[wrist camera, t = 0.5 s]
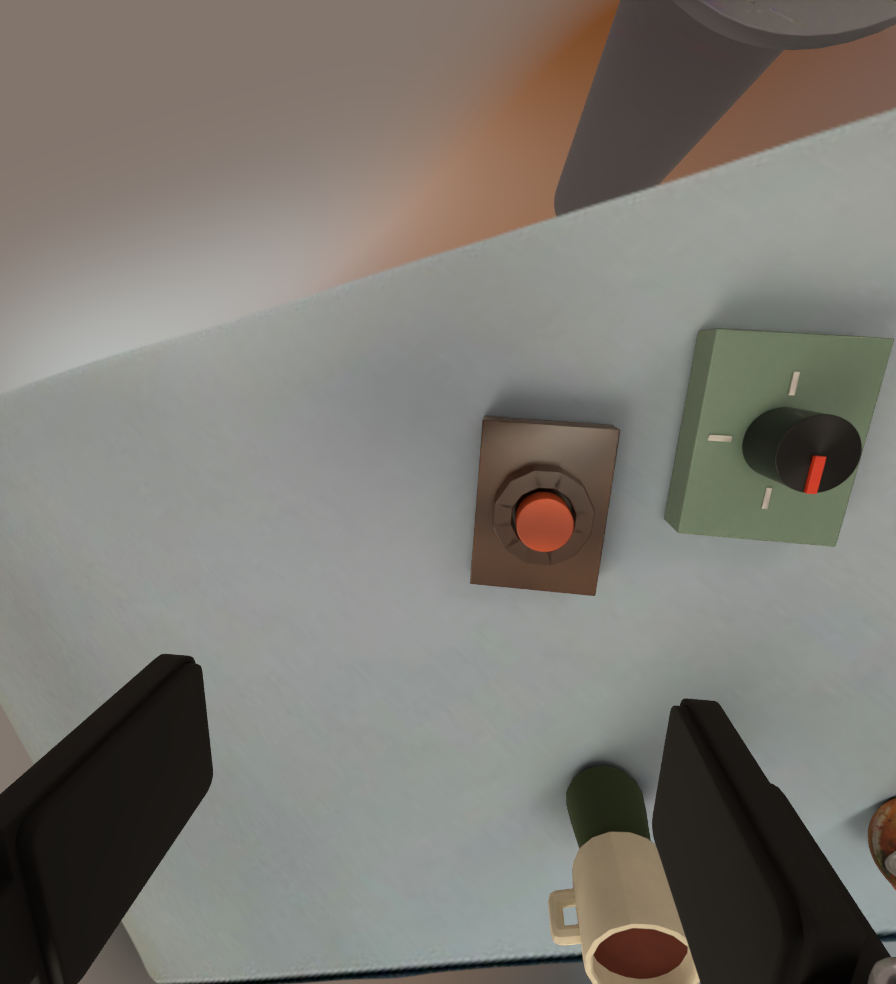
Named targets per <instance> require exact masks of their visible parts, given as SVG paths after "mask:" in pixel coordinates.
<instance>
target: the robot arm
mask: <svg viewBox="0 0 896 984" xmlns="http://www.w3.org/2000/svg"><path fill="white" fill-rule="evenodd" d="M212 777H213V766H212V757H211V748H210V738H209V729H208V720H207V711H206V701H205V692H204V683H203V674H202V668H201V666H200V665H198V664H196V663H195V660H194V659H193V657H191V656H184V655H173V654H161V655H160V656H158V657H157V658H155V659H154V660H153V661H152V662H151V663H150V664H149V665H147V666H146V667H145V668H144V669H143V670H142V671H141V672H139V673H138V674H137V675H136V676H135V677H134V678H133V679H131V680H130V681H129V682H128V683H127V684H126V685H125V686H123V687H122V688H121V689H120V690H119V691H118V692H117V693H115V694H114V695H113V696H112V697H111V698H110V699H109V700H107V701H106V702H105V703H104V704H103V705H102V706H101V707H99V708H98V709H97V710H96V711H95V712H94V713H93V714H91V715H90V716H89V717H88V718H87V719H86V720H85V721H83V722H82V723H81V724H80V725H79V726H78V727H77V728H75V729H74V730H73V731H72V732H71V733H70V734H69V735H67V736H66V737H65V738H64V739H63V740H62V741H61V742H59V743H58V744H57V745H56V746H55V747H54V748H53V749H51V750H50V751H49V752H48V753H47V754H46V755H45V756H43V757H42V758H41V759H40V760H39V761H38V762H37V763H35V764H34V765H33V766H32V767H31V768H30V769H29V770H28V771H26V772H25V773H24V774H23V775H22V776H21V777H19V778H18V779H17V780H16V781H15V782H14V783H13V784H11V785H10V786H9V787H8V788H7V789H6V790H5V791H3V792H2V793H1V794H0V984H77V983H78V982H79V981H80V980H81V979H82V978H83V976H84V975H85V974H86V972H87V971H88V969H89V968H90V966H91V965H92V963H93V962H94V960H95V958H96V957H97V956H98V954H99V953H100V951H101V950H102V948H103V947H104V945H105V944H106V942H107V940H108V939H109V938H110V936H111V935H112V933H113V932H114V930H115V929H116V927H117V926H118V924H119V923H120V921H121V920H122V918H123V917H124V915H125V914H126V912H127V911H128V909H129V908H130V906H131V905H132V904H133V902H134V901H135V899H136V898H137V896H138V895H139V893H140V892H141V890H142V889H143V887H144V886H145V884H146V883H147V881H148V880H149V878H150V877H151V875H152V874H153V872H154V871H155V869H156V868H157V866H158V865H159V863H160V862H161V860H162V859H163V857H164V856H165V854H166V853H167V851H168V850H169V848H170V847H171V845H172V844H173V842H174V841H175V839H176V838H177V836H178V835H179V833H180V832H181V831H182V829H183V828H184V826H185V825H186V823H187V822H188V820H189V819H190V817H191V816H192V814H193V813H194V811H195V810H196V808H197V807H198V805H199V804H200V802H201V801H202V799H203V798H204V796H205V795H206V793H207V791H208V790H209V787H210V785H211V782H212ZM652 829H653V836H654V840H655V844H656V847H657V850H658V853H659V856H660V859H661V863H662V866H663V869H664V872H665V875H666V878H667V881H668V884H669V887H670V890H671V893H672V897H673V900H674V903H675V906H676V909H677V912H678V915H679V918H680V921H681V924H682V927H683V931H684V934H685V937H686V940H687V943H688V946H689V949H690V952H691V955H692V958H693V961H694V964H695V968H696V971H697V974H698V977H699V980H700V983H701V984H896V957H891V956H890V954H889V953H888V951H887V950H886V948H885V947H884V945H883V944H882V942H881V941H880V939H879V938H878V936H877V935H876V933H875V932H874V930H873V929H872V927H871V925H870V924H869V922H868V921H867V919H866V918H865V916H864V915H863V913H862V912H861V910H860V909H859V907H858V906H857V904H856V903H855V901H854V900H853V898H852V897H851V895H850V893H849V892H848V890H847V889H846V887H845V886H844V884H843V883H842V881H841V880H840V878H839V877H838V875H837V874H836V872H835V871H834V869H833V868H832V866H831V865H830V863H829V861H828V860H827V858H826V857H825V855H824V854H823V852H822V851H821V849H820V848H819V846H818V845H817V843H816V842H815V840H814V839H813V837H812V836H811V834H810V833H809V831H808V829H807V828H806V826H805V825H804V823H803V822H802V820H801V819H800V817H799V816H798V814H797V813H796V811H795V810H794V808H793V807H792V805H791V804H790V802H789V801H788V799H787V797H786V796H785V795H784V794H783V792H782V791H781V790H780V789H779V788H778V787H777V786H775V785H773V784H770V782H769V781H768V779H767V778H766V776H765V775H764V773H763V771H762V770H761V768H760V767H759V765H758V764H757V762H756V760H755V759H754V757H753V756H752V754H751V753H750V751H749V749H748V748H747V746H746V745H745V743H744V742H743V740H742V739H741V737H740V735H739V734H738V732H737V731H736V729H735V728H734V726H733V724H732V723H731V721H730V720H729V718H728V717H727V715H726V714H725V712H724V710H723V709H722V707H721V706H720V705H719V703H718V702H716V701H709V700H697V699H683V700H682V702H681V704H680V706H673V707H672V708H671V711H670V716H669V722H668V728H667V734H666V740H665V746H664V752H663V758H662V764H661V770H660V776H659V782H658V788H657V793H656V799H655V805H654V811H653V818H652Z"/></svg>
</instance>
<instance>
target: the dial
mask: <svg viewBox="0 0 896 984" xmlns="http://www.w3.org/2000/svg"><path fill="white" fill-rule="evenodd" d="M742 450H743V455H744V458H745V461H746V462H747V464H748V465H749V466H750V468H751V469H753V470H754V471H755V472H757V473H759V474H761V475H763V476H765V477H767V478H769V479H772V480H774V481H776V482H778V483H780V484H783V485H785V486H787V487H789V488H791V489H794V490H796V491H799V492H803V493H806V494H817V493H820V492H825V491H828V490H831V489H833V488H835V487H837V486H838V485H840V484H842V483H843V482H844V481H845V480H847V479H848V478H849V477H850V475H851V474H852V473H853V472H854V470H855V469H856V467H857V465H858V463H859V460H860V457H861V453H862V443H861V438H860V436H859V433H858V431H857V430H856V428H855V427H854V426H853V425H852V424H851V423H850V422H849V421H847V420H846V419H844V418H842V417H839V416H836V415H831V414H826V413H820V412H814V411H809V410H803V409H798V408H792V407H780V408H775V409H772V410H769V411H767V412H765V413H763V414H761V415H760V416H759V417H757V418H756V419H755V420H754V421H753V422H752V423H751V425H750V426H749V427H748V429H747V431H746V433H745V435H744V438H743V444H742Z"/></svg>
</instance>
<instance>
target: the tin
mask: <svg viewBox="0 0 896 984" xmlns="http://www.w3.org/2000/svg"><path fill="white" fill-rule="evenodd" d="M868 844H869V849H870V852H871V855H872V857H873V859H874V861H875V864H876V865H877V867H878V868H879V870H880V871H881V873H882V874H883V875H884V877H885V878H886V879H887V880H888V881H889V882H890V883H891V885H892V886H893V887H894V889H895V890H896V798H894V799H892V800H890V801H888V802H886V803H885V804H883V805H882V806H881V807H880V808H879V809H878V810H877V811H876V812H875V813H874V815H873V816H872V818H871V821H870V824H869V828H868Z"/></svg>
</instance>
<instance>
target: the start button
mask: <svg viewBox="0 0 896 984" xmlns="http://www.w3.org/2000/svg"><path fill="white" fill-rule="evenodd" d="M515 519H516V529H517V533H518V536H519V538H520V540H521V541H522V542H523V543H524V544H525V545H526V546H527V547H529V548H531V549H533V550H535V551H540V552H550V551H554V550H557V549H559V548H560V547H562V546H563V545H564V544H566V543H567V541H568V540H569V539H570V537H571V535H572V533H573V528H574V521H573V517H572V514H571V512H570V509H569V507H568V505H567V504H566V502H565V501H564V500H563V499H562V498H561V497H560V496H558V495H556V494H554V493H551V492H536V493H533V494H531V495H529V496H527V497H526V498H525V499H523V500H522V502H521V503H520V504H519V506H518V508H517V511H516V518H515Z"/></svg>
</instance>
